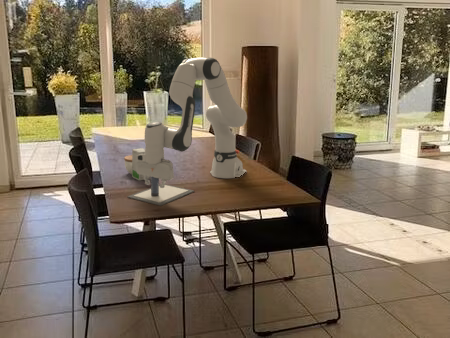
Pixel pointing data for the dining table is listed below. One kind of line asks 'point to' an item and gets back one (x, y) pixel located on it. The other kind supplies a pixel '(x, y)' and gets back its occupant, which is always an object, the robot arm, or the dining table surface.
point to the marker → (154, 186)
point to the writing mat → (161, 195)
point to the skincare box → (134, 154)
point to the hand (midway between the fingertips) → (154, 186)
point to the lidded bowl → (128, 163)
